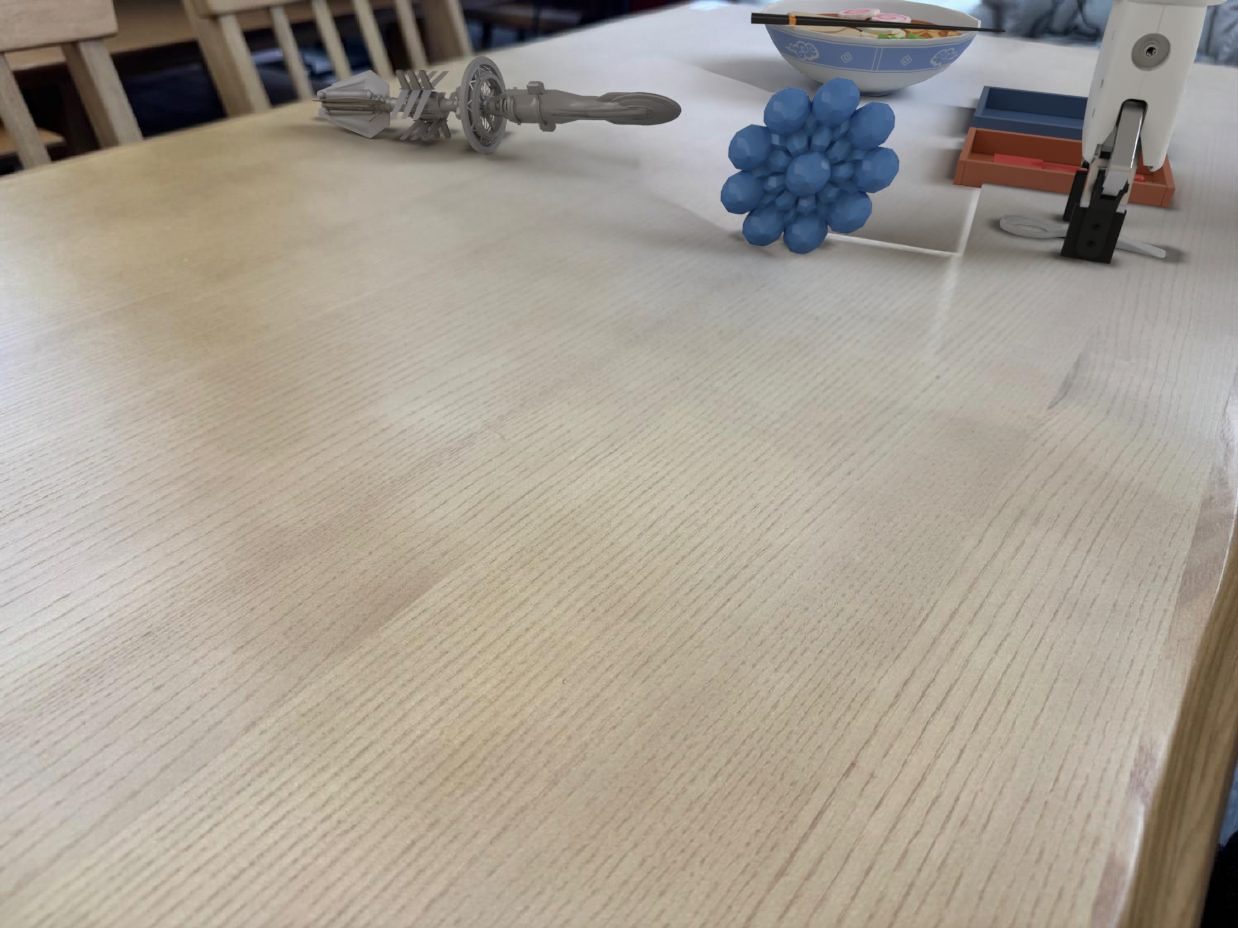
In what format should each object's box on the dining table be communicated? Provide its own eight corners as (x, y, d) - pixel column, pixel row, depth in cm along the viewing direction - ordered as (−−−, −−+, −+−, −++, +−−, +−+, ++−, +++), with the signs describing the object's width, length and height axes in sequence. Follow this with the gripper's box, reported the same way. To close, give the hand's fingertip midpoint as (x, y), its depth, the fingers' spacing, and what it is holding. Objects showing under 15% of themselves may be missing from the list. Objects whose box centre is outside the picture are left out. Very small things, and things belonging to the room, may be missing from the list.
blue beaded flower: (879, 238, 73) (911, 67, 66) (882, 275, 67) (917, 92, 61) (722, 224, 74) (736, 55, 68) (712, 258, 69) (727, 79, 62)
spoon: (999, 227, 75) (1007, 201, 74) (1167, 269, 71) (1179, 243, 70) (992, 240, 73) (1001, 214, 71) (1165, 284, 69) (1178, 258, 68)
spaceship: (658, 96, 74) (687, 34, 78) (276, 92, 86) (318, 38, 90) (675, 181, 80) (701, 119, 84) (317, 167, 92) (354, 113, 96)
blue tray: (1148, 129, 98) (1156, 104, 96) (1155, 166, 88) (1164, 139, 87) (978, 109, 102) (984, 85, 101) (967, 142, 93) (973, 116, 92)
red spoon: (1142, 184, 83) (1146, 170, 82) (1143, 196, 81) (1148, 181, 80) (991, 164, 86) (995, 151, 86) (989, 175, 84) (992, 161, 83)
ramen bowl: (957, 69, 117) (972, -7, 112) (997, 124, 98) (1018, 36, 93) (744, 58, 119) (750, -16, 114) (743, 111, 100) (751, 24, 95)
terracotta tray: (1157, 179, 85) (1167, 151, 84) (1164, 218, 78) (1175, 188, 76) (964, 153, 90) (969, 126, 89) (952, 188, 82) (958, 159, 81)
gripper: (1254, -2, 53) (1145, 301, 64) (1220, -44, 67) (1135, 212, 77) (1104, -14, 56) (1023, 281, 66) (1101, -53, 69) (1033, 198, 79)
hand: (1084, 242), depth 71 cm, fingers open, 6 cm apart
